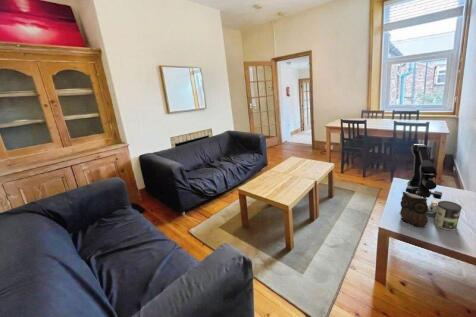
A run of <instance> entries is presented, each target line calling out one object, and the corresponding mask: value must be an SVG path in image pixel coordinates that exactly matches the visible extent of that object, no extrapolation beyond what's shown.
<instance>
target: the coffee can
mask: <svg viewBox="0 0 476 317" xmlns="http://www.w3.org/2000/svg"><path fill="white" fill-rule="evenodd" d="M437 202H438V204H437V205H438V207H437V212H436V217H434V222H433V223H434V225H435V226H437V228H441V229H442V230H445V231H456V230H457V228H458V224H459V219H460V217H461V216H460V215H461V211H462V206H461V205H460V204H458V203H455V202H454V201H449V200H440V201H437Z"/></svg>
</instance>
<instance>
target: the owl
mask: <svg viewBox="0 0 476 317" xmlns="http://www.w3.org/2000/svg"><path fill="white" fill-rule="evenodd" d="M427 201H428V198H426V199H425V198H423V197H420V196H417V195H415V194H411V193H408V192H406V191H403V192H402V197H401V201H400V207H401V208H400V212H399V215H400V216H401V218H400V221H402V222H403V223H404V222H405V224H408V225H409V224H410V225H409V226H412V225H413V226H412V227H414V228H422V229H425V227H426V225H427V224H428V223H429V219H428V218H429V217H428V215H427V213H426V212H428V207H429V205H428V202H427Z"/></svg>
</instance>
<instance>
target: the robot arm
mask: <svg viewBox="0 0 476 317" xmlns="http://www.w3.org/2000/svg"><path fill="white" fill-rule="evenodd" d="M410 150H411V153H412V155H413V166H412V167H413V168H412V169H413V170H412V175H411V176H410V178H409V181H408V182H407V183H406V184H407V185H406V188H405V192H406V193H411V194H415V195H417V196H420V197H423V198H425V199H428V198H430V197H431V196H432V197H433V199H436V200H441V199H442V196H443V192H442V191H438V190H434V189H436V188H437V183H436V182H435V181H434V179H436V178H437V176H438V173H437V169H436V167H435V164H434V163H433V162H432V161H431V160H430V156H429V152H428V145H425V144H424V143H413V144H412V145H411V146H410ZM431 190H434V192H433V191H431Z"/></svg>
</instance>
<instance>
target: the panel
mask: <svg viewBox="0 0 476 317" xmlns="http://www.w3.org/2000/svg"><path fill="white" fill-rule="evenodd" d="M430 207H431V203H430V204H429V205H428V212H426V213H427V217H428V216H429V217H431V218H432V217H433V218H435V217H436V212H435V213H433V211H432V209H433V208H430Z"/></svg>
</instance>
